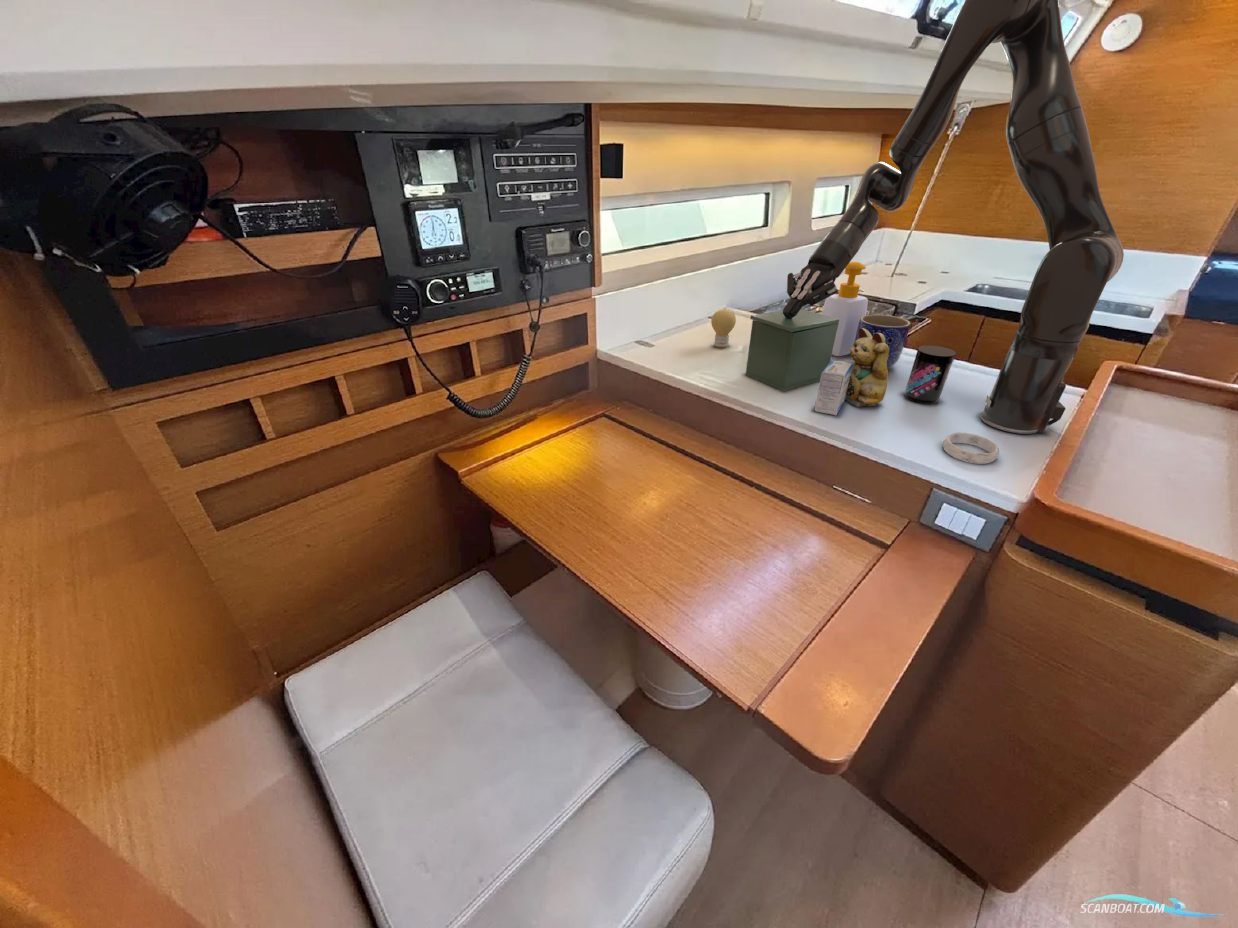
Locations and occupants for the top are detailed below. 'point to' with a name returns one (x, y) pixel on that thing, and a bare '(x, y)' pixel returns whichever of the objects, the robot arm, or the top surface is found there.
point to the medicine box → (833, 387)
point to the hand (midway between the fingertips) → (786, 316)
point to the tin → (789, 355)
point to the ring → (968, 455)
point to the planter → (887, 333)
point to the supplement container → (929, 374)
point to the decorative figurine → (868, 370)
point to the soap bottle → (846, 310)
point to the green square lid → (794, 320)
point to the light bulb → (723, 326)
